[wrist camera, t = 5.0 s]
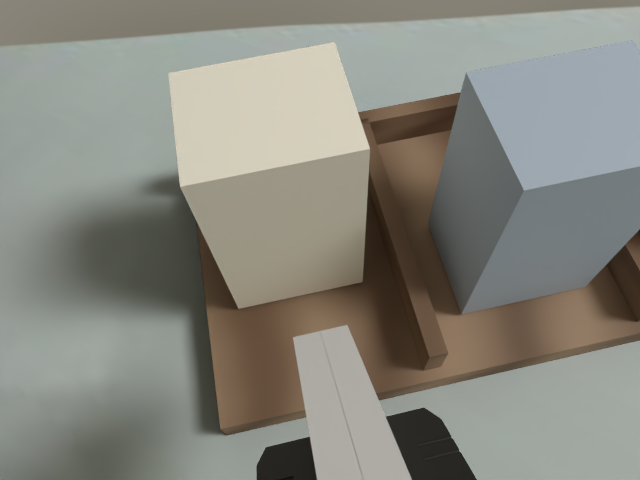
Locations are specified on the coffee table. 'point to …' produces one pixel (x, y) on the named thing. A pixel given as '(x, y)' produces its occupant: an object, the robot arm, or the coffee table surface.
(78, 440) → the coffee table surface
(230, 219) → the cream rectangular block
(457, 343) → the wooden compartment tray
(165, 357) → the coffee table surface
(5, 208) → the coffee table surface
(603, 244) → the light blue block
